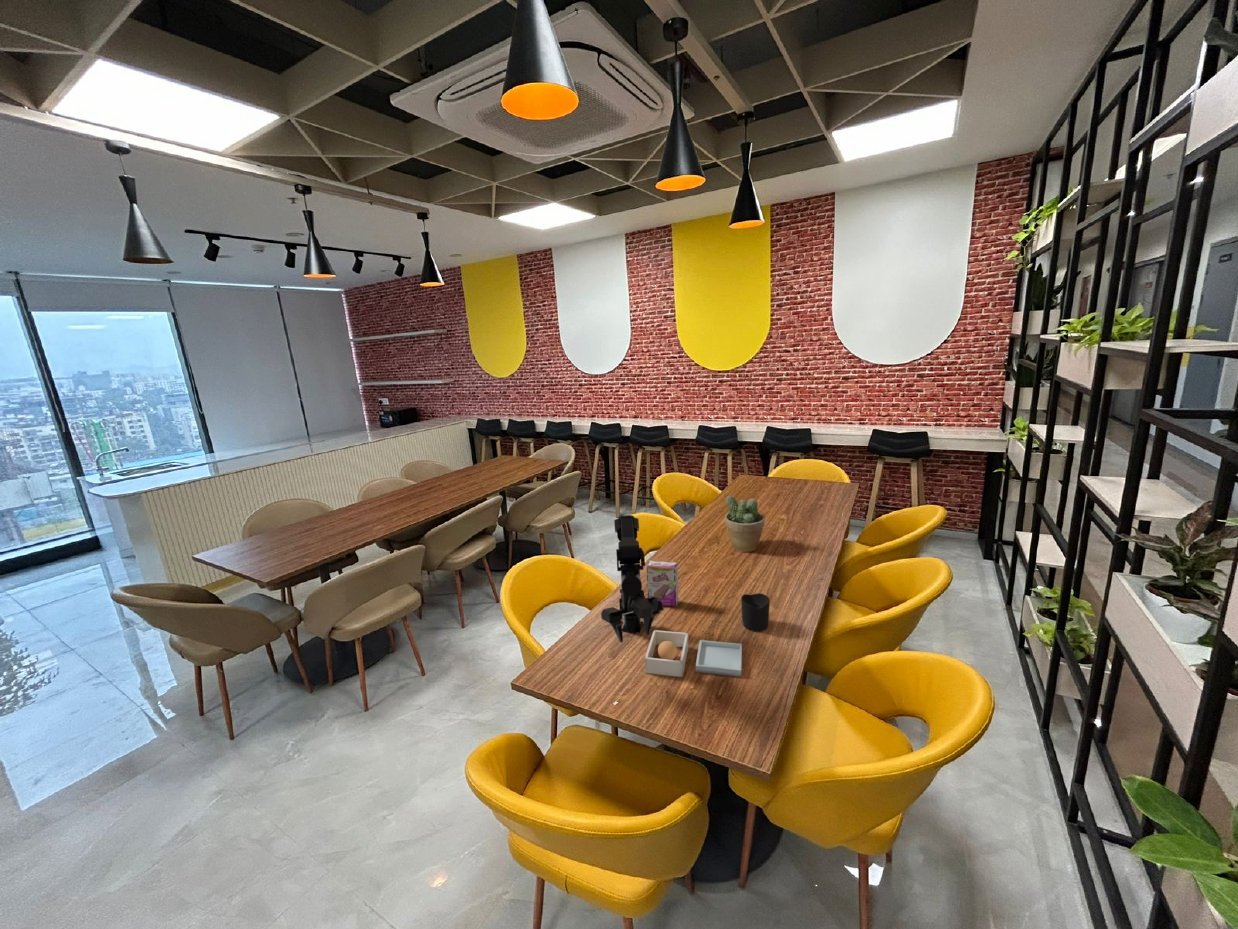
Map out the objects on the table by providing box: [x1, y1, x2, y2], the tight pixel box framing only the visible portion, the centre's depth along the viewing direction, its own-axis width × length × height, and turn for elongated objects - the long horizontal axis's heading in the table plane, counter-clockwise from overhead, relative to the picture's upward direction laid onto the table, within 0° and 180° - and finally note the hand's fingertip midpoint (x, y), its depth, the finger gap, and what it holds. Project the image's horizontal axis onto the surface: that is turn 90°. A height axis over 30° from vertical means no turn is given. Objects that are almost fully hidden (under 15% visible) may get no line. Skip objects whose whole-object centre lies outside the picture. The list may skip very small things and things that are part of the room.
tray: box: [695, 639, 743, 678], centre depth 155 cm, size 13×13×2 cm
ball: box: [657, 641, 678, 660], centre depth 156 cm, size 6×6×6 cm
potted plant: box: [724, 495, 766, 553], centre depth 232 cm, size 18×19×25 cm
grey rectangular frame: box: [644, 629, 690, 678], centre depth 156 cm, size 15×11×5 cm
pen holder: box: [740, 593, 771, 632], centre depth 171 cm, size 9×9×10 cm
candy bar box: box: [646, 560, 679, 608], centre depth 189 cm, size 11×5×16 cm, turn 74°
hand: (634, 638), depth 148 cm, fingers open, 9 cm apart
